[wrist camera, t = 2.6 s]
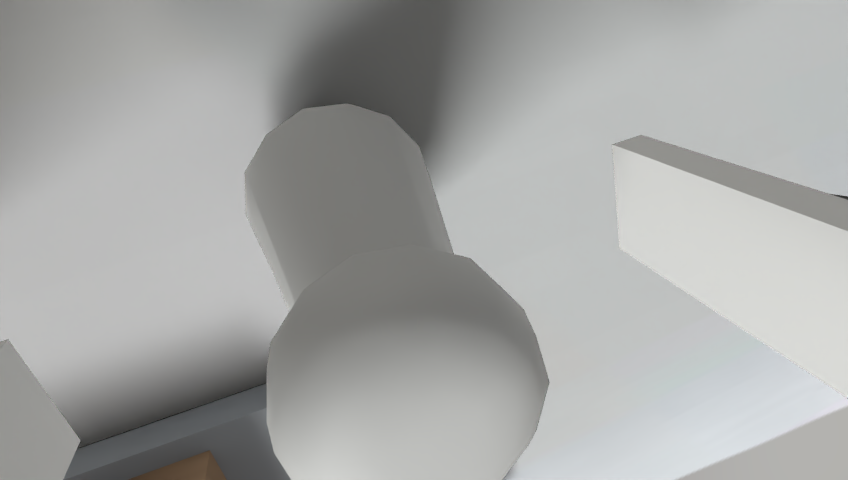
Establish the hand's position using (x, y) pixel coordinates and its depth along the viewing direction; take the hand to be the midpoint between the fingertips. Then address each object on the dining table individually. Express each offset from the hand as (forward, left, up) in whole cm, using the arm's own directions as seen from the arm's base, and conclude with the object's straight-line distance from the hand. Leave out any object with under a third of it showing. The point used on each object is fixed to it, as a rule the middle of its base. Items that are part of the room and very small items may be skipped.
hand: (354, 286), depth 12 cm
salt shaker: (0, 0, -8) cm, 8 cm away
